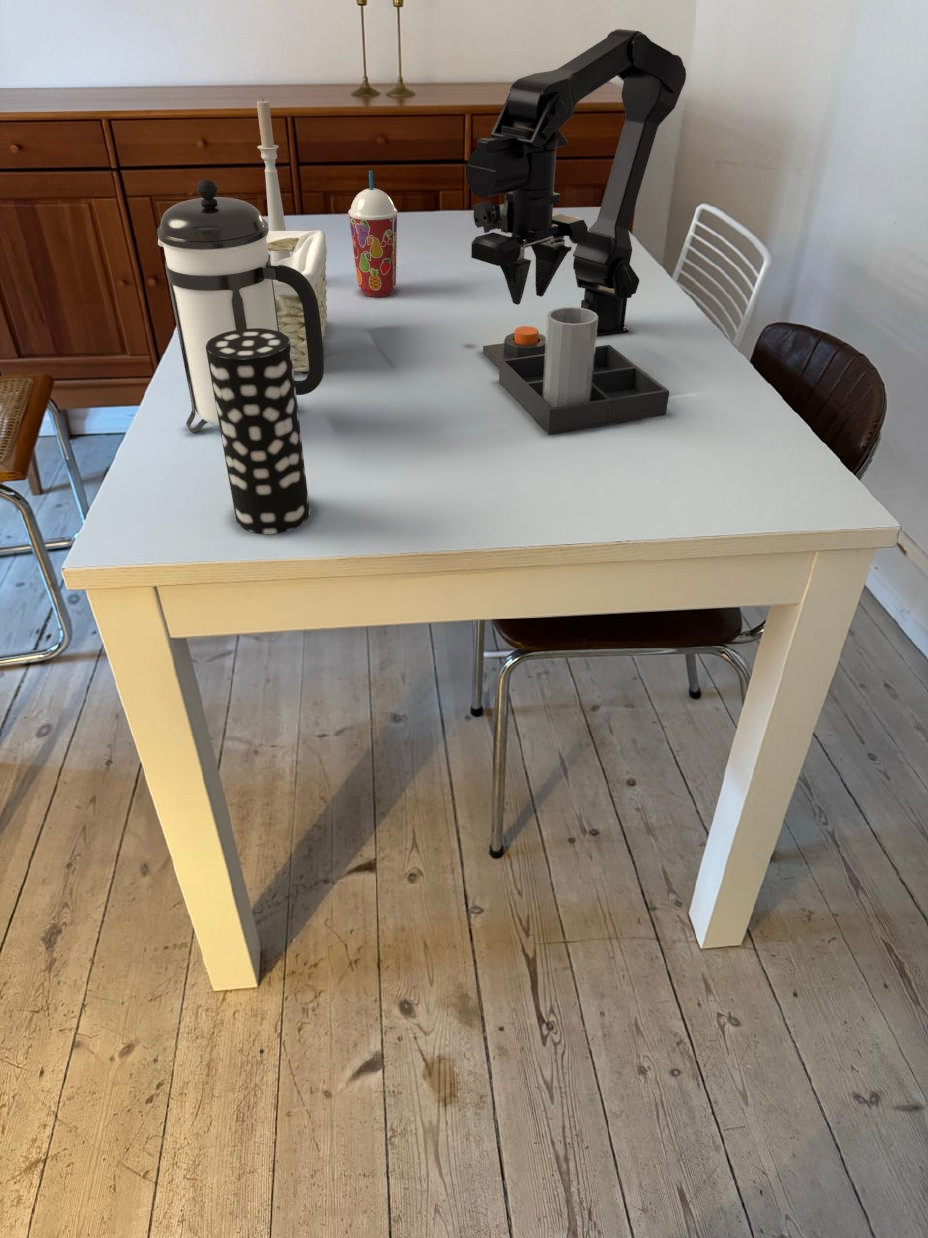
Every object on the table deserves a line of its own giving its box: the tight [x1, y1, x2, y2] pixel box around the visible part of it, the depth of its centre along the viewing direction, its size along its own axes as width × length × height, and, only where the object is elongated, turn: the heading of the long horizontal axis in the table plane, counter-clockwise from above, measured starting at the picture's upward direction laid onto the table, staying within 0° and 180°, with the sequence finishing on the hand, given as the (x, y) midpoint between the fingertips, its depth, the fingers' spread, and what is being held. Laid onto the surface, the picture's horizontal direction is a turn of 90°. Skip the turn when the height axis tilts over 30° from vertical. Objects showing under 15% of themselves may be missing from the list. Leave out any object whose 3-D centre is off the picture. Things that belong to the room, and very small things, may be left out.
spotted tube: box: [206, 328, 311, 535], centre depth 98 cm, size 8×8×20 cm
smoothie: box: [348, 170, 398, 298], centre depth 158 cm, size 8×8×20 cm
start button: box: [514, 325, 540, 345], centre depth 138 cm, size 4×4×2 cm
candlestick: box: [256, 98, 292, 263], centre depth 159 cm, size 13×13×30 cm
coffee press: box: [156, 178, 325, 434], centre depth 114 cm, size 17×16×30 cm
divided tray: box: [498, 344, 670, 435], centre depth 128 cm, size 18×18×4 cm
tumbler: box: [542, 306, 598, 408], centre depth 120 cm, size 6×6×13 cm
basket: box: [266, 229, 328, 373], centre depth 139 cm, size 24×16×15 cm
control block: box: [482, 332, 546, 370], centre depth 139 cm, size 11×8×3 cm
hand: (528, 299), depth 135 cm, fingers open, 5 cm apart
